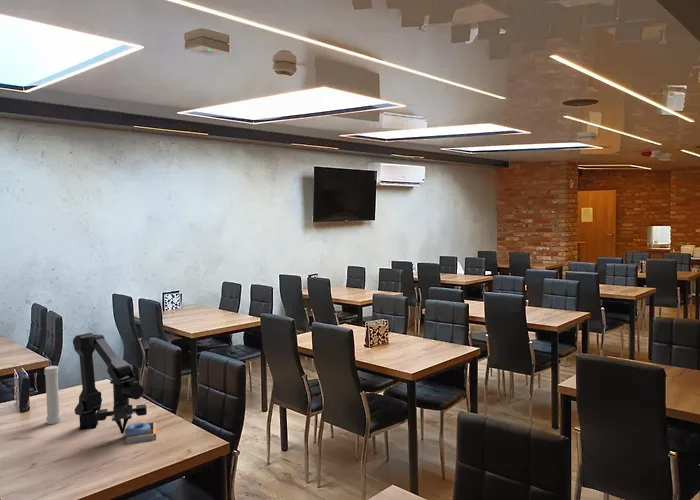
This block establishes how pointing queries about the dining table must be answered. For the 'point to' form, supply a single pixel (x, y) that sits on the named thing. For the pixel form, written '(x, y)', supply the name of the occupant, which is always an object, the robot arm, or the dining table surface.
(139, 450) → the dining table surface
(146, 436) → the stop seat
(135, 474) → the dining table surface
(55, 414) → the pipe
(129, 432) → the doughnut
